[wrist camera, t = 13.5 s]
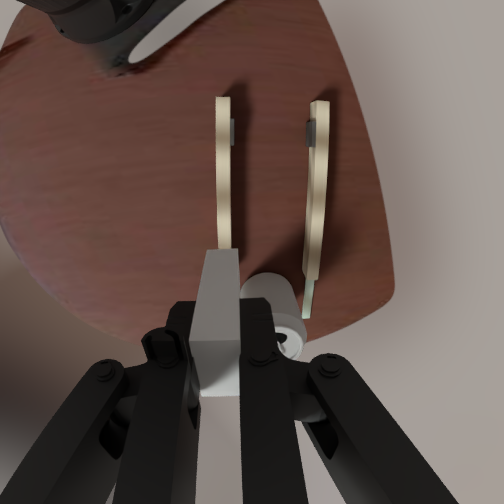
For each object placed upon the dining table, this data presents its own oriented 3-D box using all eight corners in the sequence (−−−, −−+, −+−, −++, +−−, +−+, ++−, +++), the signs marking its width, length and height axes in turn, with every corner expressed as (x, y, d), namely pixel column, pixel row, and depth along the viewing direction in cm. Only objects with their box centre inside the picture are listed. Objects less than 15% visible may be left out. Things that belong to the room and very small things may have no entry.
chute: (214, 100, 31) (212, 97, 28) (324, 104, 31) (332, 102, 29) (220, 319, 42) (220, 331, 40) (309, 317, 43) (313, 328, 40)
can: (289, 265, 39) (308, 316, 28) (294, 310, 42) (311, 367, 31) (234, 274, 40) (234, 328, 28) (244, 318, 42) (246, 377, 31)
